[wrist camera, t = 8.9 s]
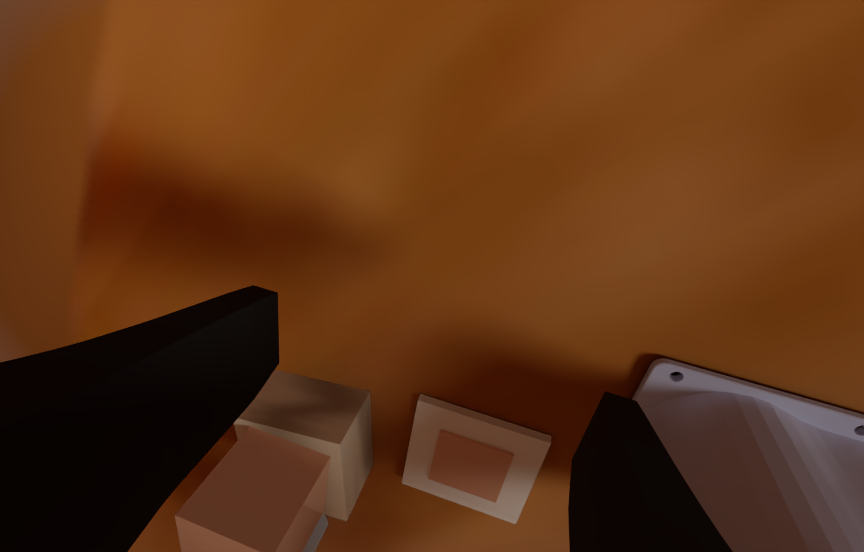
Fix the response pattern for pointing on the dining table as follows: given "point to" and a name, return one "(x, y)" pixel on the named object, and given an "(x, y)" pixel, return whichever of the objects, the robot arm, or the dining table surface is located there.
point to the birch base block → (319, 429)
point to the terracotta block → (257, 498)
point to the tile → (473, 458)
